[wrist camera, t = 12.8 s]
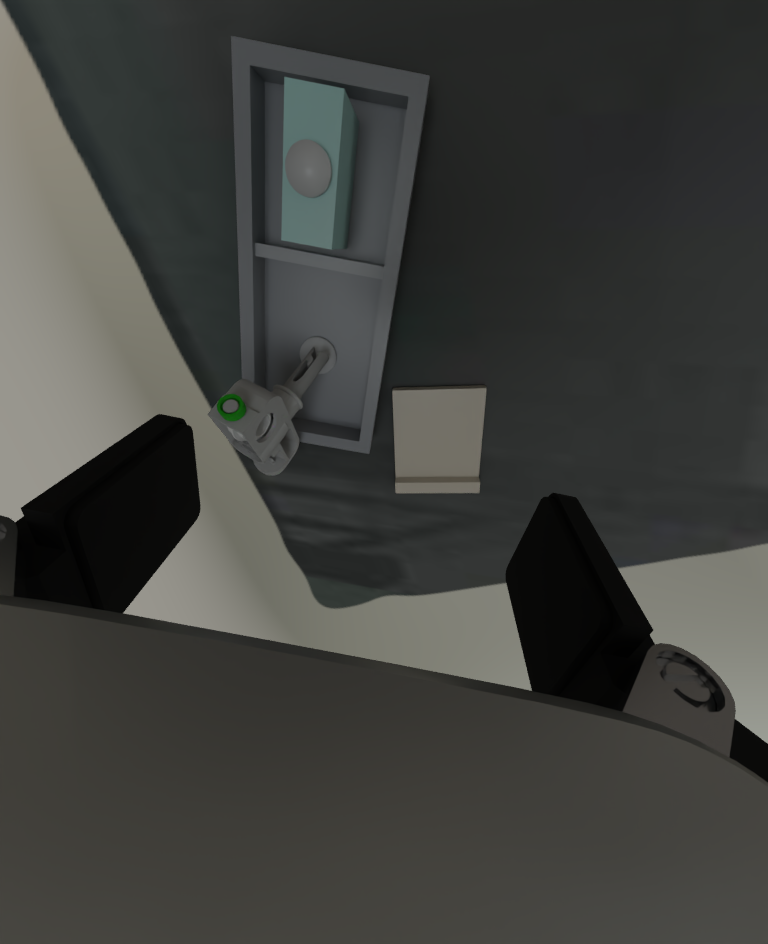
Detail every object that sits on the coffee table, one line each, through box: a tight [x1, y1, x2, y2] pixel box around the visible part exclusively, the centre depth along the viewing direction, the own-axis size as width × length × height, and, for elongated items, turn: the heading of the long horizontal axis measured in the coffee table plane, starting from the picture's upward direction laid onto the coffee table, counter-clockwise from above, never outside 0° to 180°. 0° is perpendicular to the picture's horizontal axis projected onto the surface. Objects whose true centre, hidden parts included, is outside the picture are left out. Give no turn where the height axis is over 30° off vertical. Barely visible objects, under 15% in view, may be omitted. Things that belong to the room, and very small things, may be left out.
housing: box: [231, 36, 430, 454], centre depth 27 cm, size 24×11×8 cm, turn 171°
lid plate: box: [392, 385, 487, 493], centre depth 35 cm, size 10×8×2 cm
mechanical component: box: [208, 347, 329, 476], centre depth 29 cm, size 3×10×10 cm
